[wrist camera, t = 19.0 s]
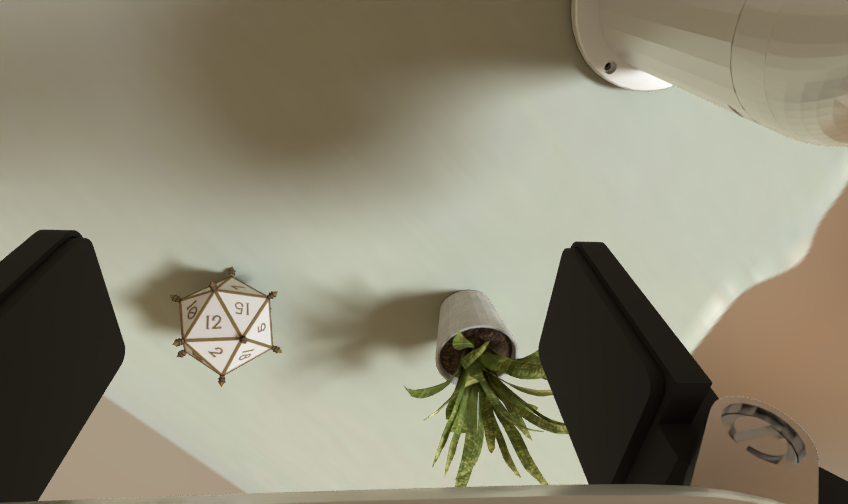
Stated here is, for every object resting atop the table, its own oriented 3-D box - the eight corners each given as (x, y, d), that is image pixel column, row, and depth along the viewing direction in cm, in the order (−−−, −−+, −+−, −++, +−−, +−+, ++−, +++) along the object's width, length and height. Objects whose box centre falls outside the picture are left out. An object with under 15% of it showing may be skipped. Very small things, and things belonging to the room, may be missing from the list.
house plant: (504, 385, 53) (549, 541, 39) (378, 363, 50) (379, 525, 36) (562, 278, 46) (643, 421, 32) (421, 245, 43) (442, 388, 29)
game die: (259, 287, 48) (252, 394, 45) (164, 273, 43) (147, 392, 39) (302, 260, 42) (297, 381, 38) (196, 239, 37) (179, 377, 33)
